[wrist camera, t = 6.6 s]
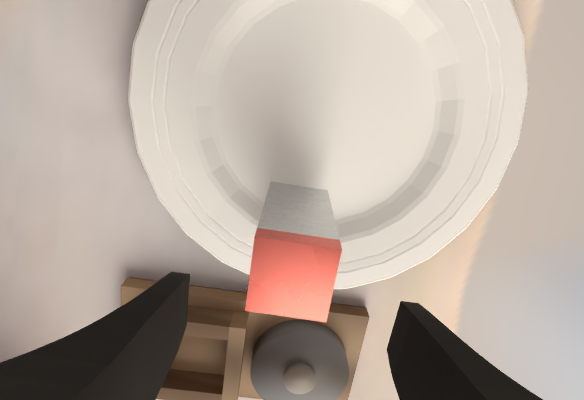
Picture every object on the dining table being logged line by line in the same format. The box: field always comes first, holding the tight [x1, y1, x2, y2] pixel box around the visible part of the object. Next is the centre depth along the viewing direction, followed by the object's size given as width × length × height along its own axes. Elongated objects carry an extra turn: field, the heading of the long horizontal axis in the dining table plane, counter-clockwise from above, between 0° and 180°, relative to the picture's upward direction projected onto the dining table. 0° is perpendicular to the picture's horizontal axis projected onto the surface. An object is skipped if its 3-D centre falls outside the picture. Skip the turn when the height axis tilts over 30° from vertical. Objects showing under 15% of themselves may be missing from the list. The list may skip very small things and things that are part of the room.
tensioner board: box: [121, 278, 369, 400], centre depth 24 cm, size 8×16×3 cm, turn 82°
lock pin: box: [245, 182, 342, 322], centre depth 17 cm, size 3×3×7 cm
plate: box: [128, 0, 528, 289], centre depth 20 cm, size 21×21×2 cm
